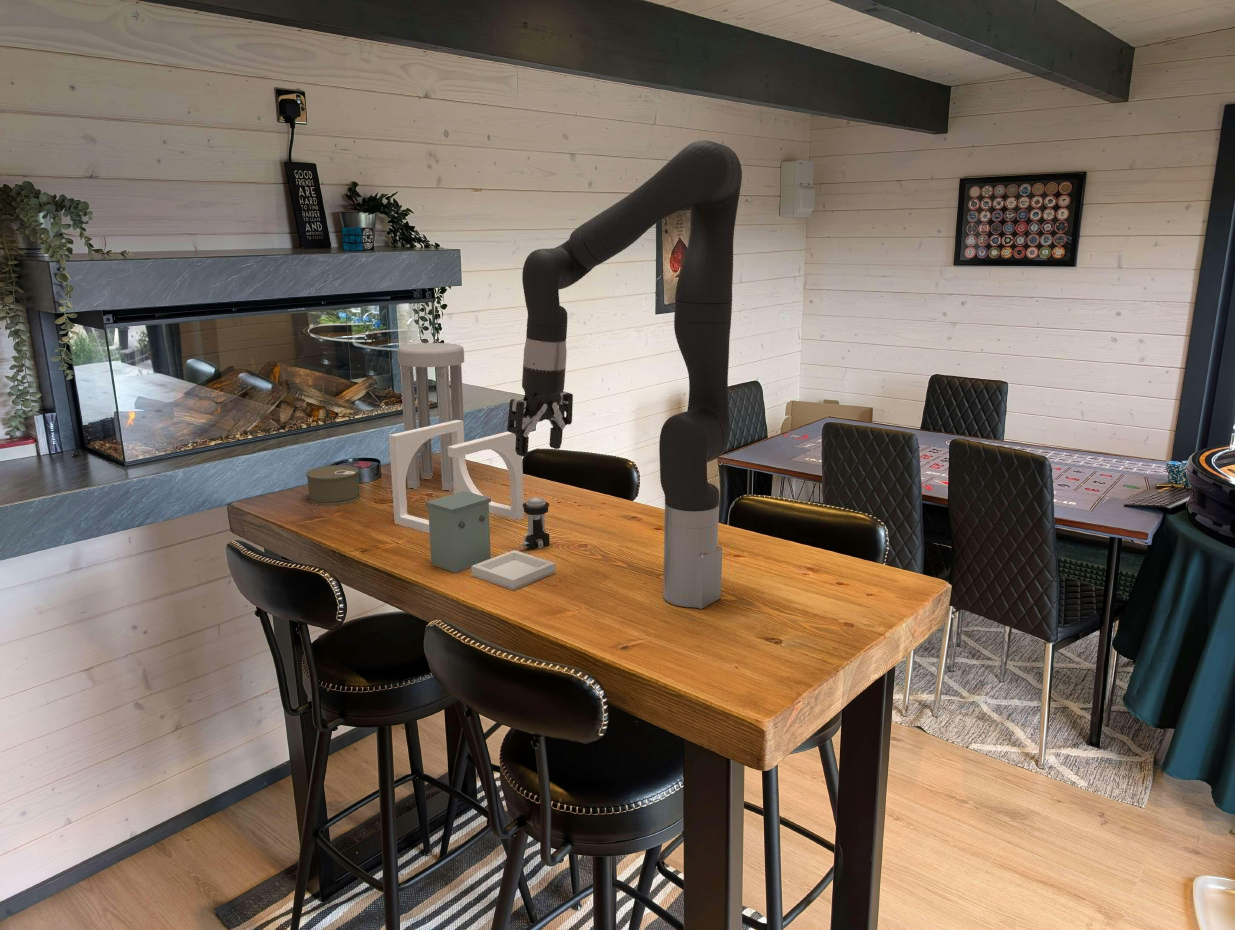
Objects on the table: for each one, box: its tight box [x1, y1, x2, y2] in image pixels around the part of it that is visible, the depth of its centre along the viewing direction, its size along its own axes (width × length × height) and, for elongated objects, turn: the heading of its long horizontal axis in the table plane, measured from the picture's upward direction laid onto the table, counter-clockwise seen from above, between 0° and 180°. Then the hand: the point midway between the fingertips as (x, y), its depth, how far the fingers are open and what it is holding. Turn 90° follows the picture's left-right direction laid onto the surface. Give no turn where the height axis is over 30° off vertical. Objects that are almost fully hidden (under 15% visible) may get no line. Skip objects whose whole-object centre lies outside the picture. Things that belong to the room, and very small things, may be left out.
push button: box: [519, 496, 551, 551], centre depth 178 cm, size 7×5×10 cm
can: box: [305, 464, 361, 506], centre depth 211 cm, size 12×12×7 cm
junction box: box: [425, 491, 492, 574], centre depth 169 cm, size 8×10×13 cm
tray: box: [471, 549, 557, 591], centre depth 164 cm, size 11×11×2 cm
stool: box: [396, 342, 466, 492], centre depth 220 cm, size 16×16×35 cm
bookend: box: [388, 420, 525, 534], centre depth 193 cm, size 20×20×20 cm
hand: (538, 451), depth 160 cm, fingers open, 8 cm apart
